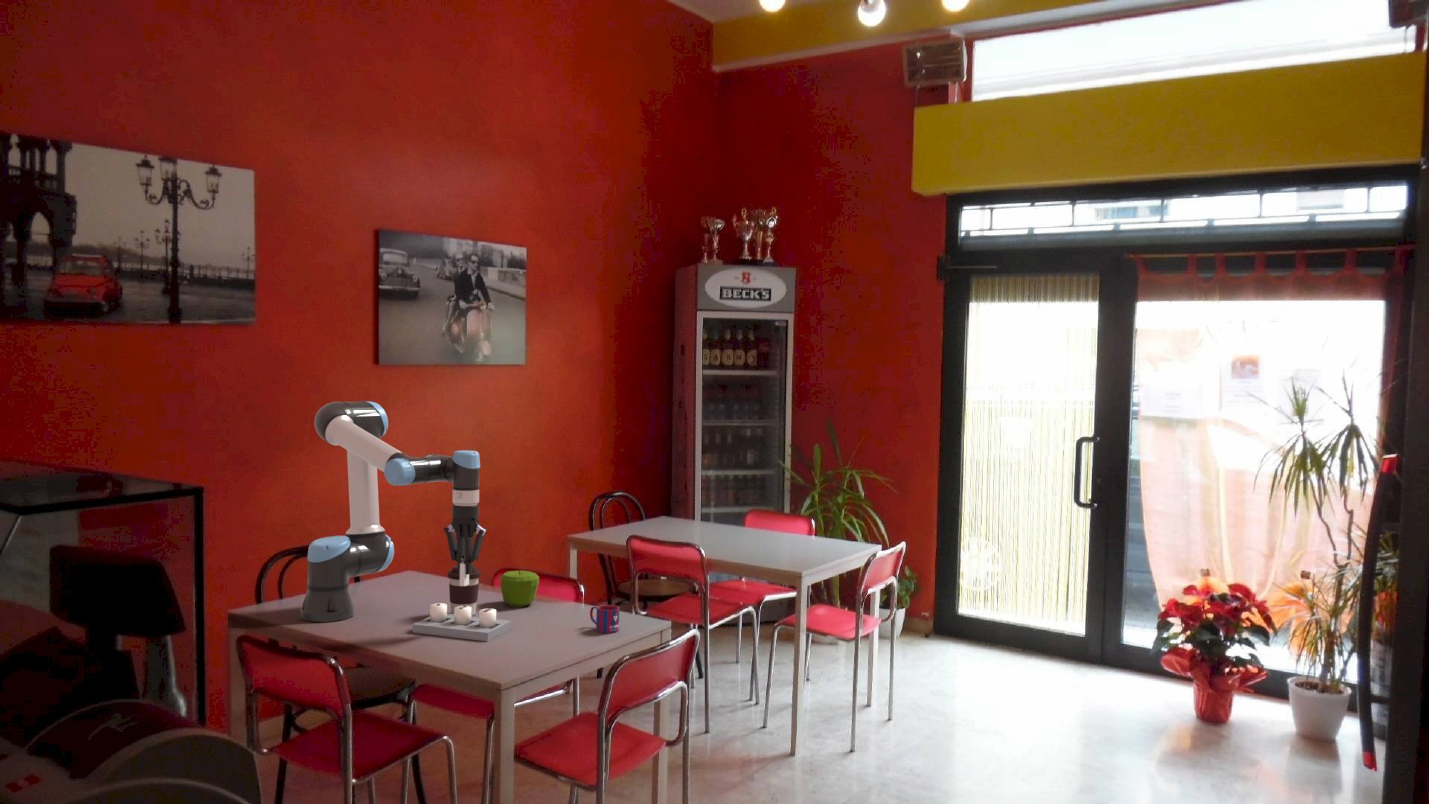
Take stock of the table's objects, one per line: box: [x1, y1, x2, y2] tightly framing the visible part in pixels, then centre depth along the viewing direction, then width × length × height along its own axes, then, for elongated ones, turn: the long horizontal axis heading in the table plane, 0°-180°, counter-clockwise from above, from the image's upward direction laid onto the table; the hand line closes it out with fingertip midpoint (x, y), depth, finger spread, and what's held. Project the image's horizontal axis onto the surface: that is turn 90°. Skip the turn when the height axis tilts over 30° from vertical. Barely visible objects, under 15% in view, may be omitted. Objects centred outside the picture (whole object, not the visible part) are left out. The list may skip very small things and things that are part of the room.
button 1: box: [429, 602, 448, 622], centre depth 286 cm, size 5×5×5 cm
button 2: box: [454, 606, 472, 625], centre depth 284 cm, size 5×5×5 cm
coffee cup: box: [447, 564, 482, 617], centre depth 301 cm, size 10×10×15 cm
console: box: [412, 613, 512, 642], centre depth 284 cm, size 24×14×2 cm, turn 74°
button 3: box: [478, 607, 497, 628], centre depth 282 cm, size 5×5×5 cm
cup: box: [589, 604, 620, 634], centre depth 290 cm, size 7×10×7 cm
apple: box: [500, 569, 540, 608], centre depth 317 cm, size 12×12×11 cm
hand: (464, 585), depth 283 cm, fingers closed
